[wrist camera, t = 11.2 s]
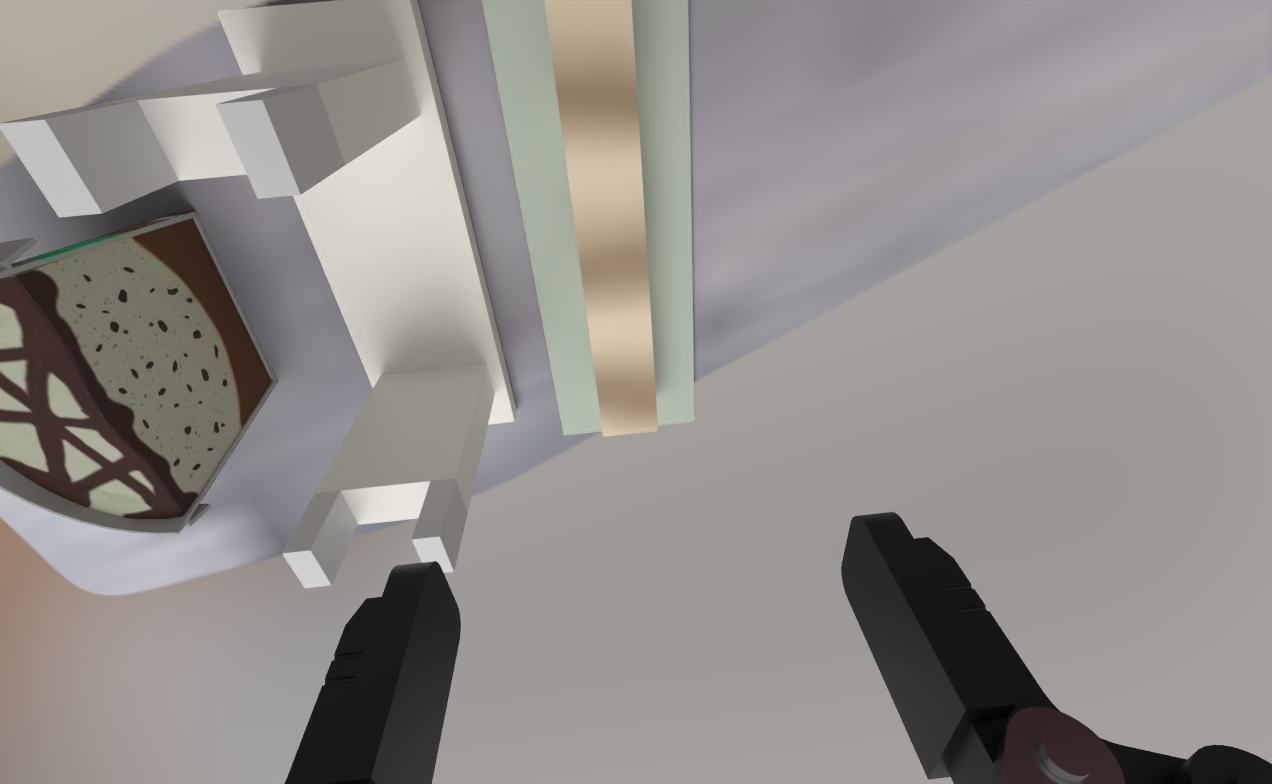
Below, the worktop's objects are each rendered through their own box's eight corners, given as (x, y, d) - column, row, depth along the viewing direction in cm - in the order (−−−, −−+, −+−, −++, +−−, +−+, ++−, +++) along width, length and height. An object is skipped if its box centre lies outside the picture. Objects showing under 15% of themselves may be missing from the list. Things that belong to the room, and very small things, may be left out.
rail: (546, -18, 21) (541, -21, 19) (624, -24, 21) (629, -28, 19) (601, 404, 33) (603, 436, 30) (652, 399, 33) (658, 430, 30)
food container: (34, 184, 24) (-248, 274, 16) (180, 176, 25) (-23, 261, 16) (176, 411, 31) (31, 554, 23) (288, 403, 32) (184, 542, 23)
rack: (233, 10, 21) (-116, 13, 11) (416, -6, 22) (252, -18, 11) (397, 421, 33) (308, 621, 22) (516, 409, 33) (484, 601, 22)
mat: (468, -78, 20) (466, -80, 20) (685, -97, 21) (686, -98, 20) (563, 431, 34) (563, 435, 34) (693, 417, 34) (694, 421, 34)
